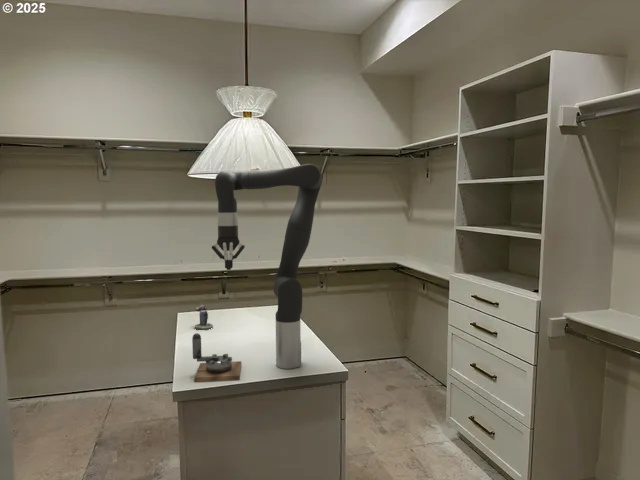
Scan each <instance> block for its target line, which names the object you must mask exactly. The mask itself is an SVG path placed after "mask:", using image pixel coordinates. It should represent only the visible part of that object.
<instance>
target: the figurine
mask: <svg viewBox="0 0 640 480" xmlns="http://www.w3.org/2000/svg"><path fill="white" fill-rule="evenodd" d="M195 311H196V312H199V323H197V324H195V325H194V330H195V329H196V330H195V331H198V330H205V331H210V330H212V329H214V325H213V324H212V323H210V322H208V320H209V312H208V307H207V306H206V305H205V304H201V305H199V306H196V308H195ZM211 328H212V329H211ZM209 329H210V330H209Z"/></svg>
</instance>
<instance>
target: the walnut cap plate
mask: <svg viewBox="0 0 640 480" xmlns="http://www.w3.org/2000/svg"><path fill="white" fill-rule="evenodd" d="M241 370H242V361H241V360H238V361H237V360H236V361H232V368H231V369H230V370H229V371H226V372H222V373H210V372H208V371H206V362H199V365H198V368H197V370H196V373H195V376H194V383H200V382H202V383H203V382H204V383H205V382H219V381H220V382H221V381H239V380H240V377H241Z"/></svg>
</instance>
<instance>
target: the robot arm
mask: <svg viewBox="0 0 640 480" xmlns="http://www.w3.org/2000/svg"><path fill="white" fill-rule="evenodd" d="M322 184H323V174H322V172H321V170H320V168H318V166H316V165H315V164H312V163H305V164H300V165H295V166H292V167H286V168H279V169H278V168H277V169H276V168H275V169H259V170H257V169H255V170H254V169H253V170H244V171H238V172H236V171H234V172H233V171H226V170H224V171H223V170H222V171H220V172H219V173H217V174H216V176H215V180H214V185H215V187H214V188H215V192H216V197H217V209H218V210H217V211H218V213H217V240H216V243H215V244H214V245H211V249H212V250H213V252H214V253H215V254H216V255H217V257H218V258H219V259H220V260H224V268H225V269H226V270H227V271H231V270H232V268H233V267H234V266H233V265H234V262H233V261H234V260H235V259H237V258H238V257H239V256H240V254H241V252H242V251H243V250H244V249H245V246H246V245H245V244H243V243H241V242H240V240H239V220H238V219H239V217H238V202H237V199H236V197H235V193H234V191H241V190H263V189H264V190H266V189H270V188H274V187H275V188H276V187H282V186H283V187H284V186H291V187H298V192H297V197H296V202H295V205H294V207H293V209H292V211H291V214H290V216H289V219H288V220H287V224H286V225H287V226H286V228H285V229H286V230H285V235H284V240H283V246H282V250H281V258H280V262H279V265H278V269H277V273H276V275H275V278H274V281H273V285H272V287H273V290H272V291H273V293H274V295H275V296H276V298H277V311H276V312H275V366H276V367H277V368H279V369H286V370H287V369H289V370H290V369H291V370H292V369H295V368H300V367H302V340H301V337H302V336H301V335H302V333H301V314H302V312H303V286H302V284H301V283H300V281H299V280H297V278H298V277H297V276H298V271H299V266H300V263H301V261H302V258H303V257H304V255H305V253H306V251H307V248H308V246H309V244H310V239H311V233H312V228H313V224H314V223H313V222H314V218H315V217H314V215H315V209H316V204H317V200H318V196H319V193H320V189H321V187H322ZM237 247H238V248H237ZM219 248H220V249H221V250H222V251H223V253H222V252H221V251H220V250H219ZM236 248H237V249H238V250H237V251H236V252H235V254H234V251H235V250H236Z"/></svg>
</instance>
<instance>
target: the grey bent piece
mask: <svg viewBox="0 0 640 480" xmlns="http://www.w3.org/2000/svg"><path fill="white" fill-rule="evenodd" d="M191 340H192V341H191V343H192V359H193V360H196V362H199V363H202V362H205V363H206V371H208V372H210V373H222V372H226V371H229V370H230V369H231V368H232V362H233V357H232V356H229V354H228V353H224V354H222V355H217V354H216V353H214V354H211V356H203V355H202V336H201V334H200V333H194V334H193V335H192V338H191Z"/></svg>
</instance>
